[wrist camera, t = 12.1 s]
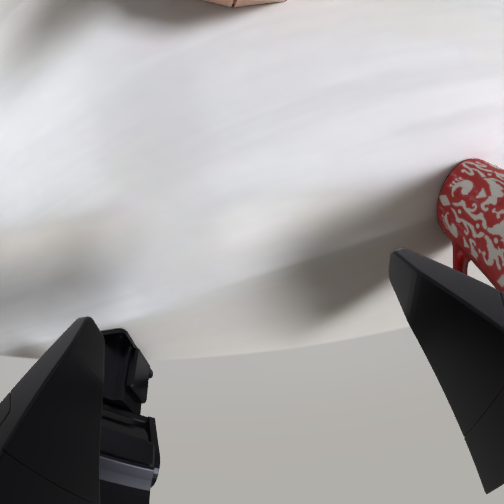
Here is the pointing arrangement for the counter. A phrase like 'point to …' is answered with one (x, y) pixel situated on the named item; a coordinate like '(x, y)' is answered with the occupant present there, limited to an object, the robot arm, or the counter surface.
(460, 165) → the mug
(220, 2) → the bowl
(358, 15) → the counter surface
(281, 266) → the counter surface
